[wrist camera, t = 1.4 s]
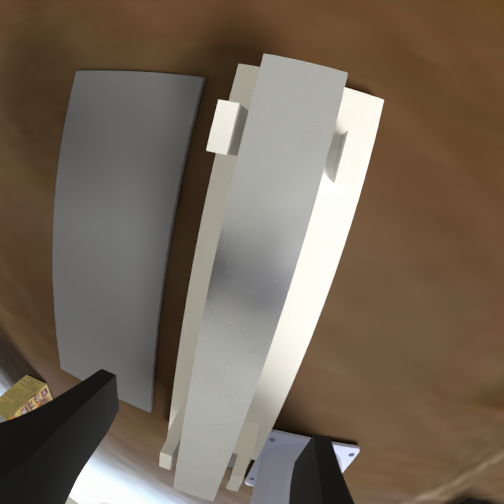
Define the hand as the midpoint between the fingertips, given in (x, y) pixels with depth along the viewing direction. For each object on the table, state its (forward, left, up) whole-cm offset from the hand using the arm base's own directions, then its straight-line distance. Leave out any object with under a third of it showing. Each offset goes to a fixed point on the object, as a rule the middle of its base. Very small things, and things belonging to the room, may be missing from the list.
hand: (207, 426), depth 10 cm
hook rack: (0, 0, -11) cm, 11 cm away
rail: (0, 0, -6) cm, 6 cm away
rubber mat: (0, +11, -11) cm, 15 cm away
